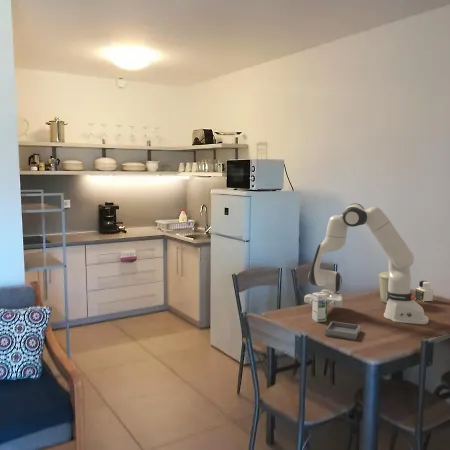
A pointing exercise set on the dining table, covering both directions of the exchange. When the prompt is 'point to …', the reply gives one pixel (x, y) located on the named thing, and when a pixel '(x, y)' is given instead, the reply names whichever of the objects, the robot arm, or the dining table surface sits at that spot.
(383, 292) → the canister
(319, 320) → the syrup box
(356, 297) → the dining table surface
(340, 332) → the tray
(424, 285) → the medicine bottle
